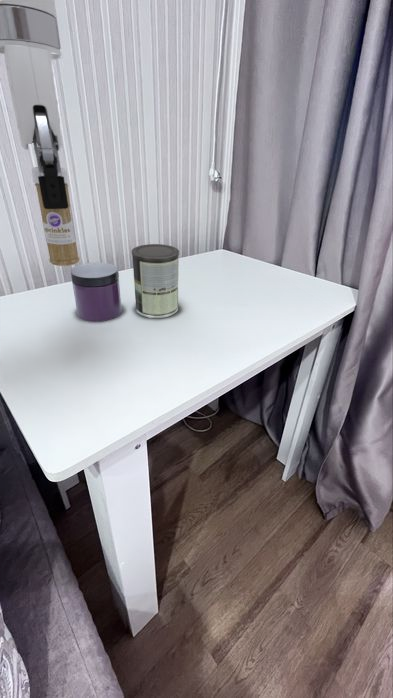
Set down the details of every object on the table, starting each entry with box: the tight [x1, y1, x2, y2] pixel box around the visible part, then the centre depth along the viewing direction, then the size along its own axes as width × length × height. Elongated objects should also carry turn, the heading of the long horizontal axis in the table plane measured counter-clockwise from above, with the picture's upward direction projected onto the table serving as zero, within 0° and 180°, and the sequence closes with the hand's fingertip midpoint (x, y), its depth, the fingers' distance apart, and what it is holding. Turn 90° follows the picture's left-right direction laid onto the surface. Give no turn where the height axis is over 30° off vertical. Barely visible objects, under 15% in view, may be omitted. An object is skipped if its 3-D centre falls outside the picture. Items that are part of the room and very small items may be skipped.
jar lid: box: [69, 261, 120, 287], centre depth 72 cm, size 10×10×2 cm
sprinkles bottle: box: [31, 166, 80, 267], centre depth 50 cm, size 5×5×13 cm
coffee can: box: [131, 243, 180, 319], centre depth 76 cm, size 10×10×14 cm
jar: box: [71, 277, 123, 322], centre depth 75 cm, size 10×10×10 cm
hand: (55, 203), depth 49 cm, fingers closed on sprinkles bottle, 4 cm apart
